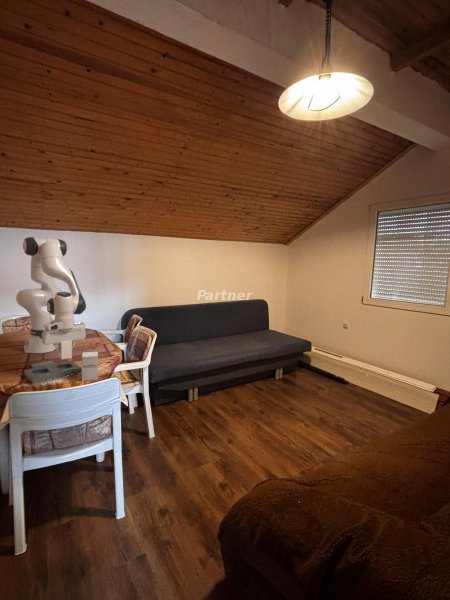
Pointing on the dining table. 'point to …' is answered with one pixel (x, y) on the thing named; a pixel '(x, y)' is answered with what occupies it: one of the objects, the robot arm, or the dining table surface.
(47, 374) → the rack plate
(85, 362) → the supplement box
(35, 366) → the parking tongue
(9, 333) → the dining table surface
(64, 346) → the peg
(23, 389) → the dining table surface
